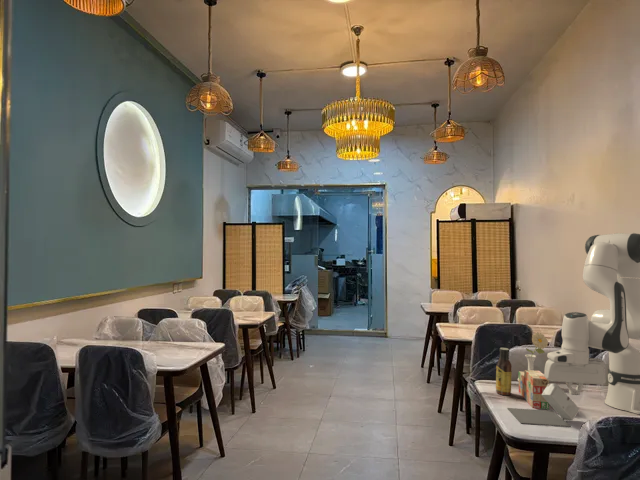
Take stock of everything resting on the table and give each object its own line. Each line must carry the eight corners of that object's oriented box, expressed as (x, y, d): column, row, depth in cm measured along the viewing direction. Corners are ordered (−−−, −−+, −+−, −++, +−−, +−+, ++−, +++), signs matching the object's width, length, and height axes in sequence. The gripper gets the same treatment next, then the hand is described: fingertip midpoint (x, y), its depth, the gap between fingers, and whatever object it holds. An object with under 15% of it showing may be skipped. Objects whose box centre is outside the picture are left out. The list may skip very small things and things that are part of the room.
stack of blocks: (518, 391, 189) (518, 364, 190) (533, 393, 188) (533, 365, 188) (532, 408, 168) (532, 377, 169) (549, 410, 167) (549, 378, 168)
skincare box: (573, 420, 152) (550, 395, 153) (563, 420, 156) (540, 395, 157) (580, 408, 155) (557, 382, 156) (569, 408, 159) (547, 383, 160)
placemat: (552, 411, 165) (552, 410, 165) (571, 427, 150) (571, 425, 150) (507, 408, 167) (507, 407, 167) (521, 423, 152) (521, 422, 152)
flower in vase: (520, 387, 196) (521, 333, 197) (514, 380, 207) (515, 329, 208) (551, 390, 193) (551, 335, 194) (543, 382, 204) (544, 330, 205)
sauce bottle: (494, 390, 189) (494, 346, 190) (509, 392, 188) (509, 347, 189) (497, 395, 183) (498, 349, 184) (513, 396, 182) (513, 350, 183)
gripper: (599, 356, 158) (599, 394, 158) (542, 353, 161) (542, 389, 160) (609, 360, 152) (609, 399, 151) (550, 356, 154) (549, 395, 154)
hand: (574, 394), depth 156 cm, fingers closed
